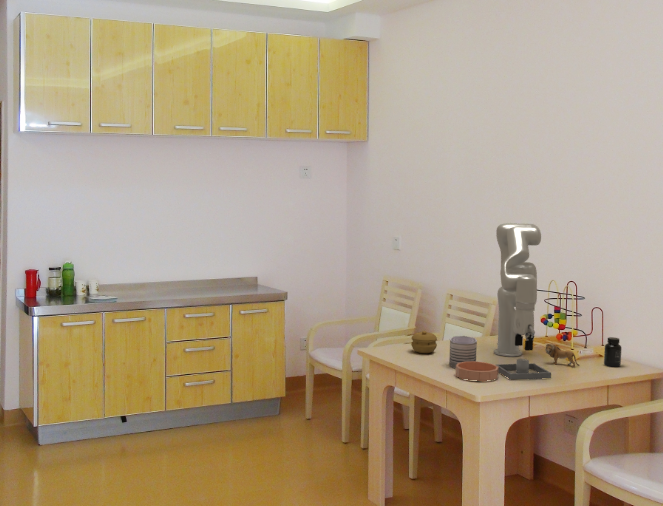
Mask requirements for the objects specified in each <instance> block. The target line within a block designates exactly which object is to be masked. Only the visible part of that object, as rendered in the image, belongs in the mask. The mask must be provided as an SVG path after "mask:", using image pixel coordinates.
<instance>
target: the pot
mask: <svg viewBox="0 0 663 506" xmlns="http://www.w3.org/2000/svg"><path fill="white" fill-rule="evenodd" d="M437 338H438V337H437V336H436V335H435V333H432V332H428V331H426V330H423V331H420V332H415V333H414V334H412V336H411V340H412V342H411V344H410V345H411V348H412V350H414V351H415V352H416V353H420V354H430V353H433V352H434V351H435V350H436V349H437V346H438V345H437V344H438V343H437V341H438V339H437Z"/></svg>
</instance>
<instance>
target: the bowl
mask: <svg viewBox="0 0 663 506" xmlns="http://www.w3.org/2000/svg"><path fill="white" fill-rule="evenodd" d="M499 375H500V373H499V367H498V366H496V365H495V364H494V363H491V362H485V361H477V360H476V361H468V362H461V363H458V364H457V365H456V368H455V377H456V378H458V377H459V378H458V379H460V378H462V379H461V380H463V379H468V380H477V381H487V380H494V379H497V378H498V379H499ZM498 379H497V380H498Z"/></svg>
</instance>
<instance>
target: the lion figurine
mask: <svg viewBox="0 0 663 506" xmlns="http://www.w3.org/2000/svg"><path fill="white" fill-rule="evenodd" d="M544 351H545V353H546V354H547V355H548V356H549V357H550V358H553V359H554V360H553V363H552V364H555V365H554V366H557V364H558V359H562V360H564V359H568V361H569V363H567V365H568V366H571V367H572V368H575V367H576V366H578V367H580V366H581V365H580V364H579V363H578V362H577V358H576V354H575V353H574V352H573V351H571V350H564V349H563V350H562V349H560V347H559V346H557V345H555V344H553V343H546V344H545V349H544Z"/></svg>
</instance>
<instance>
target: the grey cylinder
mask: <svg viewBox="0 0 663 506" xmlns="http://www.w3.org/2000/svg"><path fill="white" fill-rule="evenodd" d="M529 363H530V360H529V359H527V358H518V359H516V362H515V364H516V370H515V373H530V372H529V371H530V370H529Z"/></svg>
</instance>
